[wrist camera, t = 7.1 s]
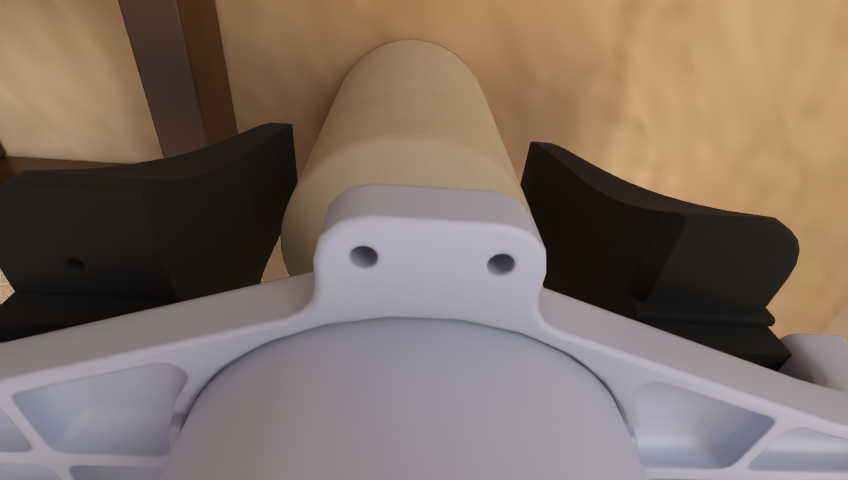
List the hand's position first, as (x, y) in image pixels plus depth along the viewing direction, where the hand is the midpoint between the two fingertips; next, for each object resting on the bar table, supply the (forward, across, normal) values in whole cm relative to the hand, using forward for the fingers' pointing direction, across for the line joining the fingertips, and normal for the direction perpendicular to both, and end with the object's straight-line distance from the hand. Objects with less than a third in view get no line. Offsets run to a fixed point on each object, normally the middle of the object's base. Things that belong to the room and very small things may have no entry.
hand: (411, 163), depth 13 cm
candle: (+4, 0, 0) cm, 4 cm away
